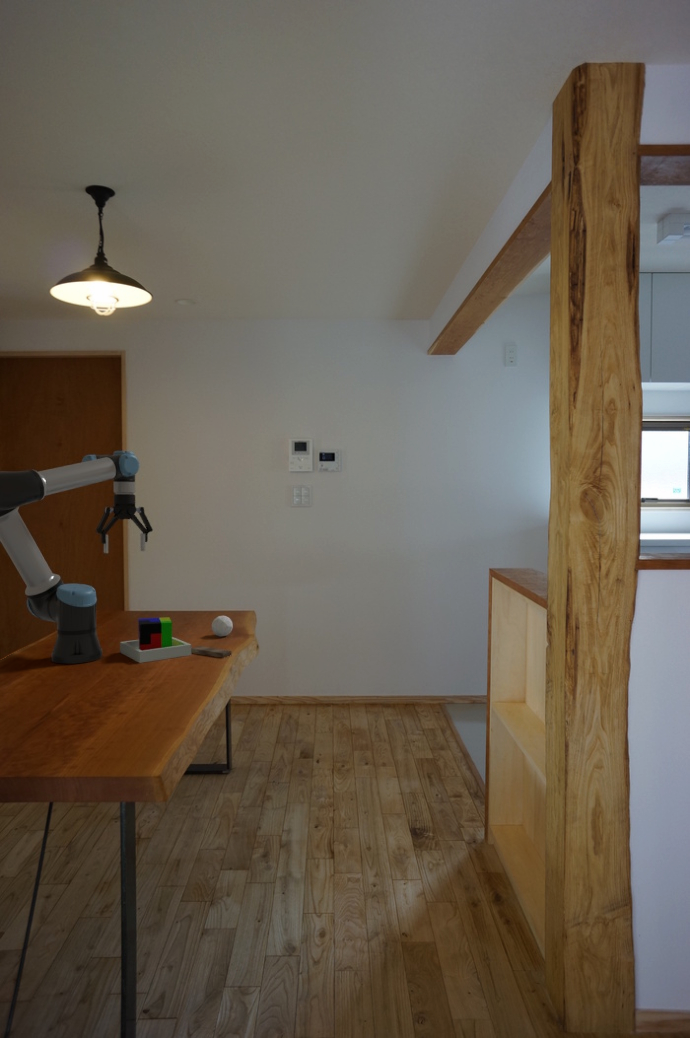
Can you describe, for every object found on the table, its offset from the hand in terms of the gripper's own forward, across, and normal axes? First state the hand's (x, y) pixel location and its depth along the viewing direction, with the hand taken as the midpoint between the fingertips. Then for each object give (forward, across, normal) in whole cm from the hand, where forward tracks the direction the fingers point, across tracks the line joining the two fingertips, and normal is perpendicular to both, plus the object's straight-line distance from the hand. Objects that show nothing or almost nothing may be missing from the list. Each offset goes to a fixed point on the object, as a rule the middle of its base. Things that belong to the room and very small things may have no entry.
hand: (124, 552), depth 244 cm
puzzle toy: (+31, 0, +29) cm, 42 cm away
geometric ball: (+32, -31, +17) cm, 47 cm away
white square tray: (+32, 0, +29) cm, 43 cm away
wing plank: (+32, -14, +40) cm, 54 cm away
